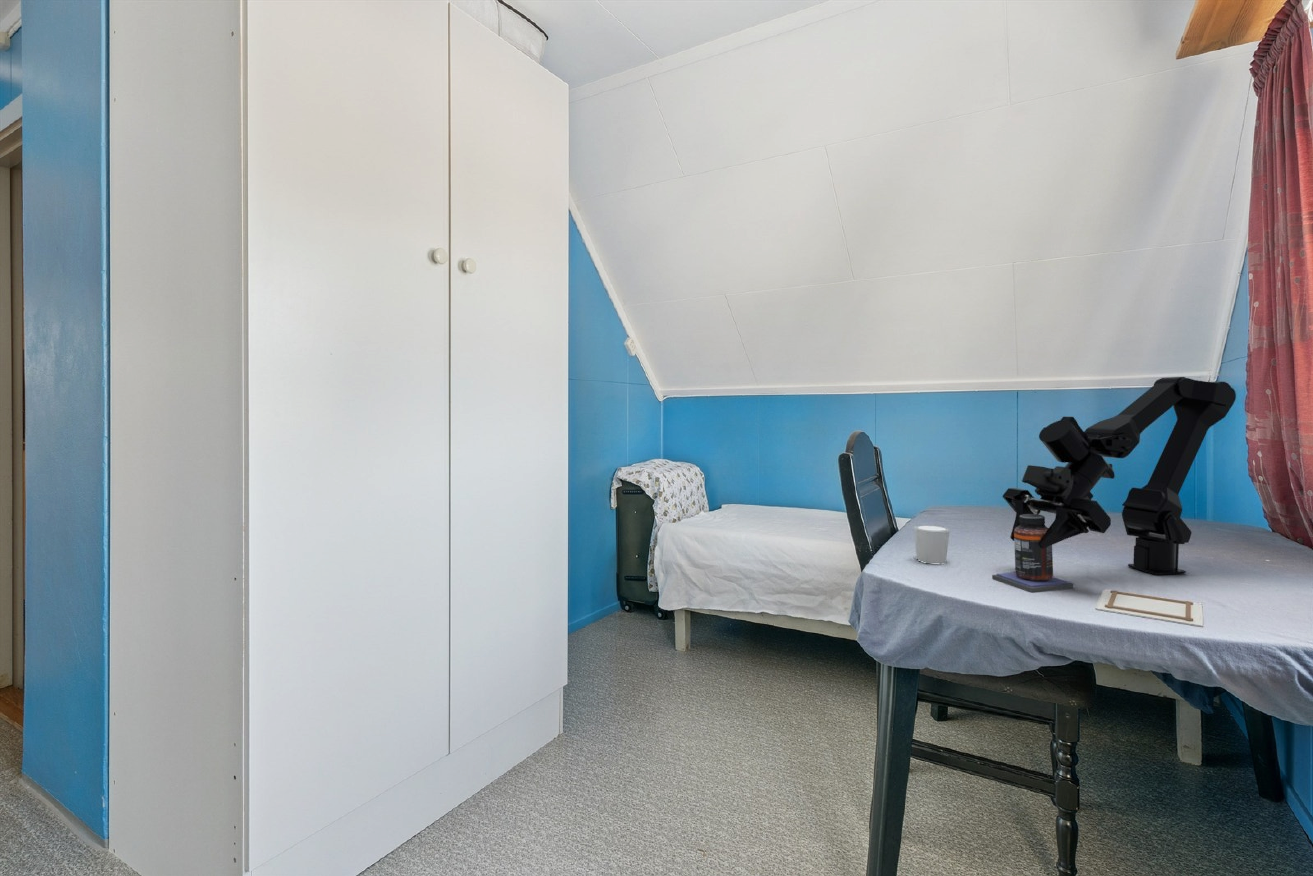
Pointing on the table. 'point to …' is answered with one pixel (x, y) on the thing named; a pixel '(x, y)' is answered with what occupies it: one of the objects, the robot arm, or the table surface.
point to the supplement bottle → (1032, 549)
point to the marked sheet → (1151, 607)
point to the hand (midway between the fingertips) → (1026, 543)
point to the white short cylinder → (931, 543)
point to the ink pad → (1032, 583)
